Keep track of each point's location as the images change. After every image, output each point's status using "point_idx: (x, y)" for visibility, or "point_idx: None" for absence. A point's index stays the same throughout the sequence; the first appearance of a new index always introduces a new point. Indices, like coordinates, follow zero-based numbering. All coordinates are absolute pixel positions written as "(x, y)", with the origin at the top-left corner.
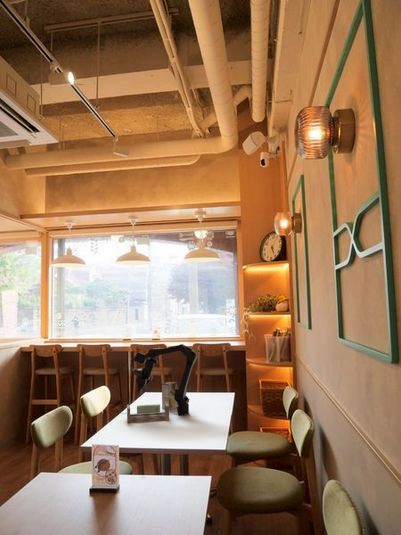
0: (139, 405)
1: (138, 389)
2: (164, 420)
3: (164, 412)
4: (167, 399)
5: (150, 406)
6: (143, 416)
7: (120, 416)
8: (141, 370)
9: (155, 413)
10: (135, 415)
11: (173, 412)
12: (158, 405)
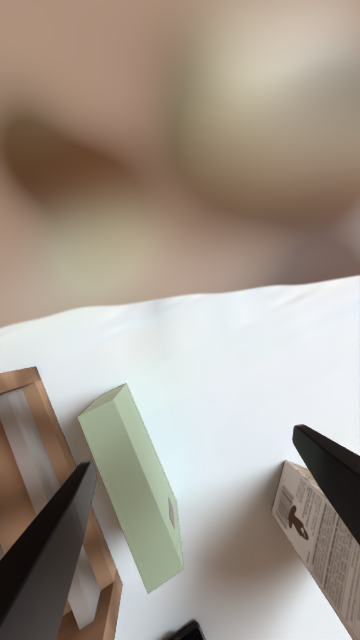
0: (109, 423)
1: (24, 552)
2: None
3: (80, 623)
4: (322, 573)
5: (118, 510)
6: None
7: (85, 309)
8: None
9: None
10: (10, 429)
11: (216, 573)
12: (142, 577)
